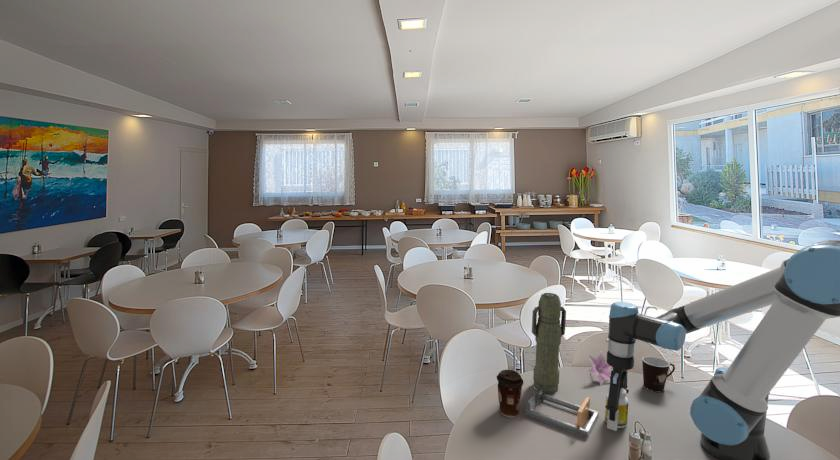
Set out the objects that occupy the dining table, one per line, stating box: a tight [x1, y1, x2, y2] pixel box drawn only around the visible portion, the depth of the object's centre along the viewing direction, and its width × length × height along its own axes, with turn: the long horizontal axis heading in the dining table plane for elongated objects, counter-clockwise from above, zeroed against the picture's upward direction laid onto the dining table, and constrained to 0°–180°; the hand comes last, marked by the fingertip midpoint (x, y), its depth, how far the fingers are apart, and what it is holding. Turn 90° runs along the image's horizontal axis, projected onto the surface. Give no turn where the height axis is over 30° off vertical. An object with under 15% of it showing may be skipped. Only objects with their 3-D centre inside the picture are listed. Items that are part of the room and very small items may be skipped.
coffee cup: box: [496, 369, 524, 419], centre depth 127 cm, size 9×8×13 cm
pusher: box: [542, 396, 591, 428], centre depth 124 cm, size 13×10×6 cm
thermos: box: [531, 292, 567, 394], centre depth 141 cm, size 9×12×35 cm
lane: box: [525, 388, 599, 439], centre depth 125 cm, size 19×13×4 cm
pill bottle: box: [604, 388, 629, 429], centre depth 121 cm, size 6×6×11 cm
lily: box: [588, 350, 613, 386], centre depth 149 cm, size 12×12×10 cm
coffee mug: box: [641, 355, 676, 392], centre depth 143 cm, size 12×9×10 cm
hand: (615, 419), depth 122 cm, fingers open, 11 cm apart
